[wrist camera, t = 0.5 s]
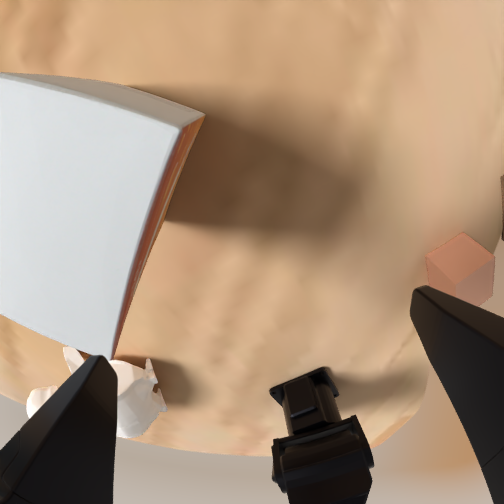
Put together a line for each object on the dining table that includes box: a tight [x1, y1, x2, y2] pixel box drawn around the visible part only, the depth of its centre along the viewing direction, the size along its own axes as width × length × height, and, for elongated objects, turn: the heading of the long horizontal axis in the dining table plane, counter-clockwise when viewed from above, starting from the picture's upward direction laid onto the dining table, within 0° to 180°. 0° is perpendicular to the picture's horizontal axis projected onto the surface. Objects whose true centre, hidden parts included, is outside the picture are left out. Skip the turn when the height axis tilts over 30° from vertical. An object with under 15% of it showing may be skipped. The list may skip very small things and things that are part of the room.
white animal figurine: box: [27, 346, 167, 438], centre depth 24 cm, size 9×8×15 cm
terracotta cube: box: [425, 232, 495, 306], centre depth 23 cm, size 5×5×5 cm
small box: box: [0, 72, 206, 361], centre depth 12 cm, size 8×6×13 cm
